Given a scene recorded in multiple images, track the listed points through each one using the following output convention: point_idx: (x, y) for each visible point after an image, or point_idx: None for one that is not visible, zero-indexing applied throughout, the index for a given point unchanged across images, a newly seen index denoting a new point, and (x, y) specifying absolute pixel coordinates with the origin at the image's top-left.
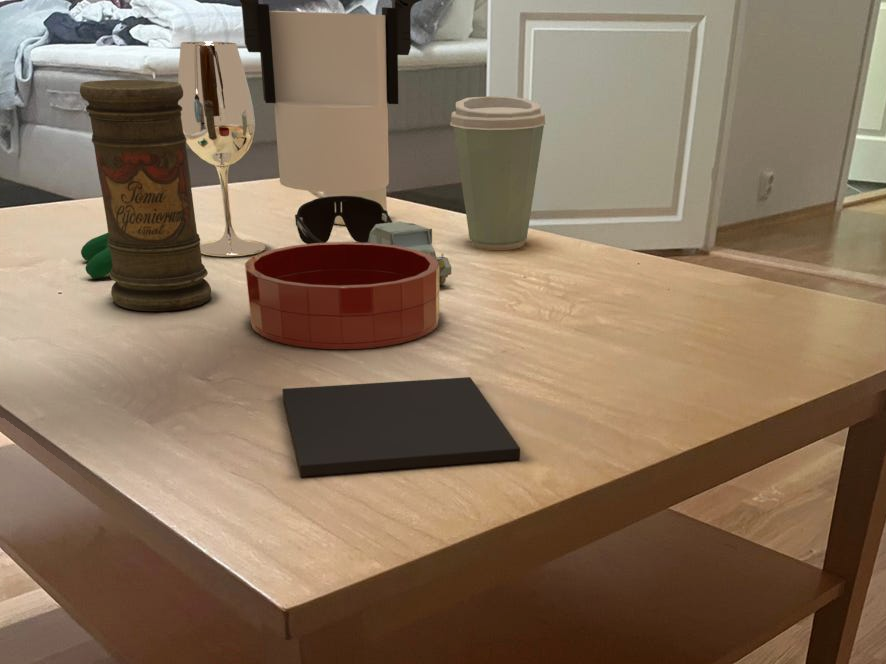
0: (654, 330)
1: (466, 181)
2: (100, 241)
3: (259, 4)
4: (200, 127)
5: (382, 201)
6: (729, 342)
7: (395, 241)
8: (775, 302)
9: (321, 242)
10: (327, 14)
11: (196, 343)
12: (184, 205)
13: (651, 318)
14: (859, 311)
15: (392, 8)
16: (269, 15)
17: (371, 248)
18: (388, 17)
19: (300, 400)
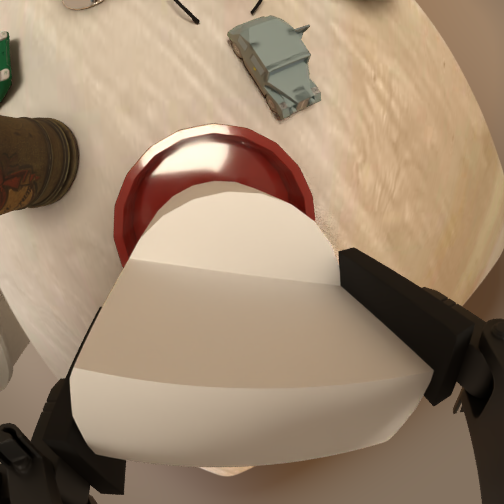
0: (426, 236)
1: None
2: None
3: (101, 491)
4: None
5: None
6: (447, 258)
7: (270, 72)
8: (484, 178)
9: (180, 5)
10: (278, 462)
11: (101, 286)
12: (27, 180)
13: (432, 208)
14: (501, 200)
15: (443, 399)
16: (124, 476)
17: (244, 138)
18: (424, 394)
19: None
